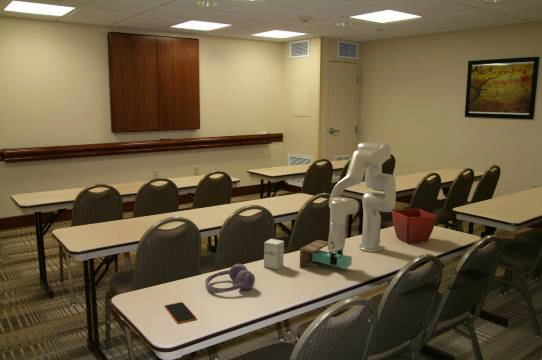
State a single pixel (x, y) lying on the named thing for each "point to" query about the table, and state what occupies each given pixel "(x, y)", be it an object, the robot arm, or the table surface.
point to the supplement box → (273, 253)
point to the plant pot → (413, 225)
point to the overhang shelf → (310, 253)
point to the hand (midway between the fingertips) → (336, 262)
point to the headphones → (236, 274)
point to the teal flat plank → (325, 258)
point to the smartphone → (180, 312)
